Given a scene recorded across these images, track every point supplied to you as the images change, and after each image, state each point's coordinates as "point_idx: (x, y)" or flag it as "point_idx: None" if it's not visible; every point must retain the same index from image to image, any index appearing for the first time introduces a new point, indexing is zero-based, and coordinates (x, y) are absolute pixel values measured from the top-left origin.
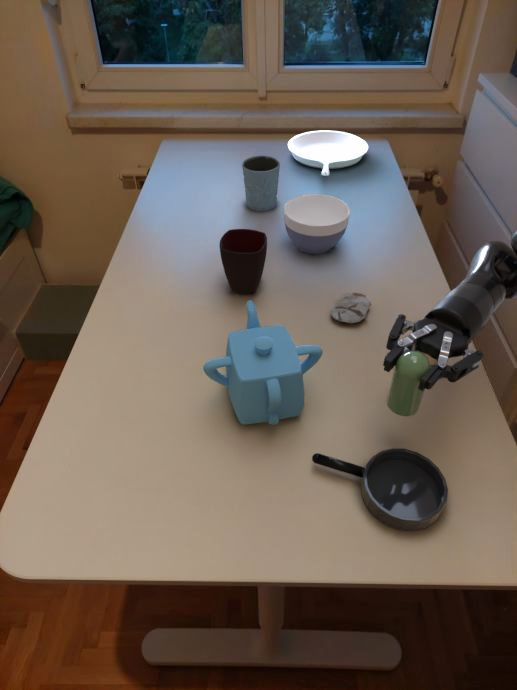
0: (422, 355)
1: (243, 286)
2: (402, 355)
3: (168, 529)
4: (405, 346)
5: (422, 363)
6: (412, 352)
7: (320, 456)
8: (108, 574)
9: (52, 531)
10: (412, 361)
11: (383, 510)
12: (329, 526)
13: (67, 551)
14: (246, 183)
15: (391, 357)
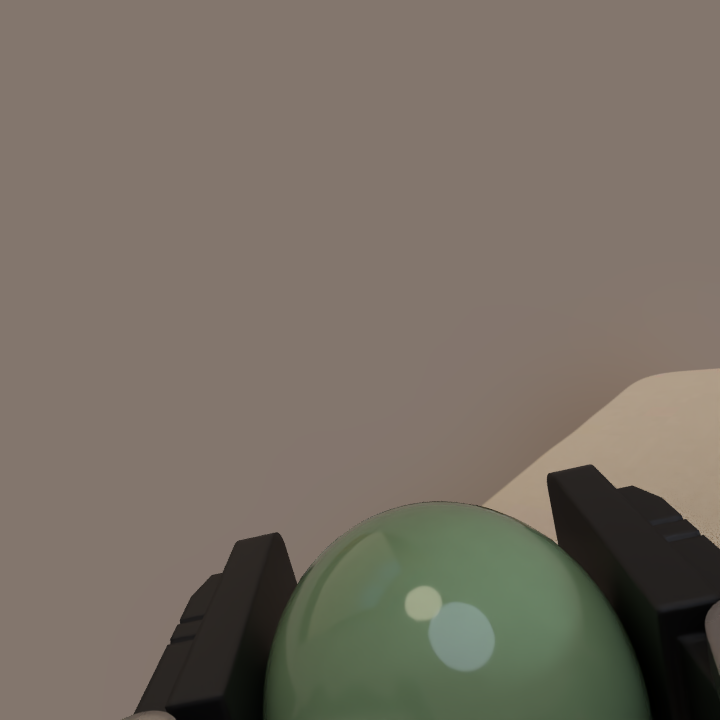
0: (370, 604)
1: None
2: (555, 544)
3: (618, 466)
4: (713, 677)
5: (320, 562)
6: (483, 552)
7: None
8: (586, 422)
9: (689, 391)
10: (401, 507)
11: None
12: None
13: (646, 400)
14: None
15: (589, 484)
